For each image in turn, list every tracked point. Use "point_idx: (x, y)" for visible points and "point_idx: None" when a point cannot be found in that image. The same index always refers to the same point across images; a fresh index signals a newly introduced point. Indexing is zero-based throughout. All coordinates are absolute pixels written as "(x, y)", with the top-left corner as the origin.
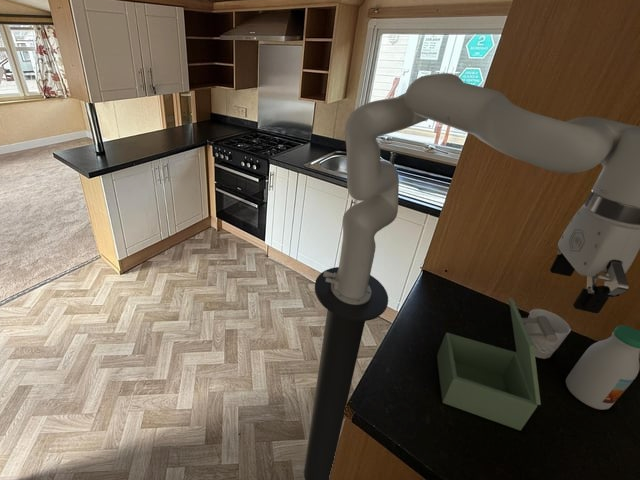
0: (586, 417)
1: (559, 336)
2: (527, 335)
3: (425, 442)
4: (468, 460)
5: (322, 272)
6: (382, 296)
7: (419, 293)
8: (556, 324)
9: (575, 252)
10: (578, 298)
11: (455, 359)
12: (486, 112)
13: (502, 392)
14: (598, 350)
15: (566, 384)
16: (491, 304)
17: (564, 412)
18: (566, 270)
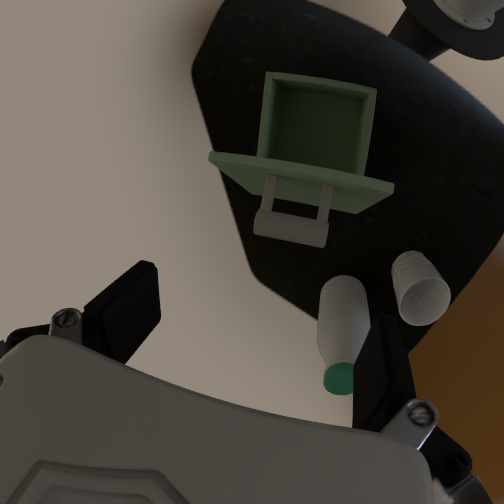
0: (308, 272)
1: (398, 300)
2: (242, 160)
3: (216, 55)
4: (210, 100)
5: None
6: (469, 46)
7: (498, 125)
8: (426, 312)
9: (86, 460)
10: (120, 281)
11: (359, 120)
12: None
13: (262, 144)
14: (348, 330)
15: (350, 276)
16: (485, 248)
17: (309, 250)
18: (361, 368)
